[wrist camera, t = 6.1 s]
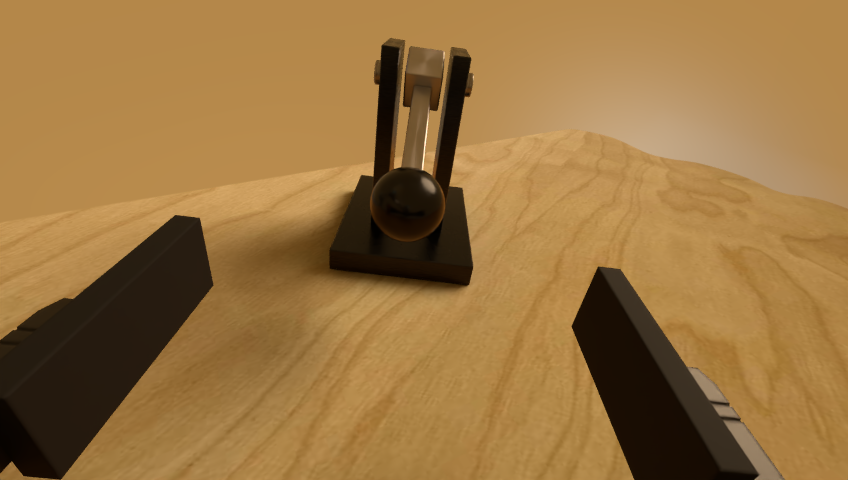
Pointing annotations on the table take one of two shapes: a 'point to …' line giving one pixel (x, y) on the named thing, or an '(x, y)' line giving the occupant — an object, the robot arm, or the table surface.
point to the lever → (413, 158)
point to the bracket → (358, 233)
